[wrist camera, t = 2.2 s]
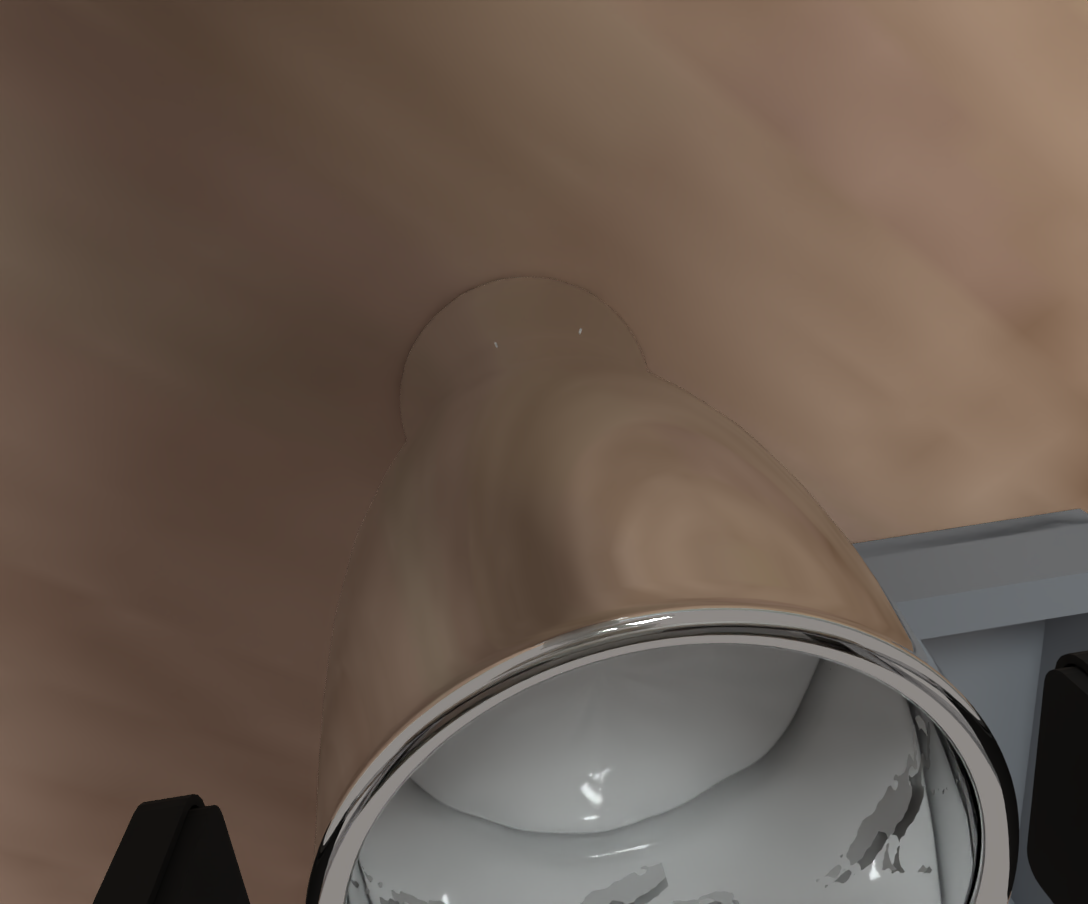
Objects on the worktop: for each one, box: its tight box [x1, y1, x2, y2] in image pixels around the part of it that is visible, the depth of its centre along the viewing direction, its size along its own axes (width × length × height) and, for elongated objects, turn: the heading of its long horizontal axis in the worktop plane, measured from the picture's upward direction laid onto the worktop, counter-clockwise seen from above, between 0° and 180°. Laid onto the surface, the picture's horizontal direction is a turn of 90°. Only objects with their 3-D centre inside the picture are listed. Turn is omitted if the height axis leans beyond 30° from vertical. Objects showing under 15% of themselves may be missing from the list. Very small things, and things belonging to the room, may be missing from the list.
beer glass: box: [305, 277, 1019, 904], centre depth 15 cm, size 7×7×15 cm
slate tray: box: [852, 509, 1088, 904], centre depth 26 cm, size 15×15×3 cm
